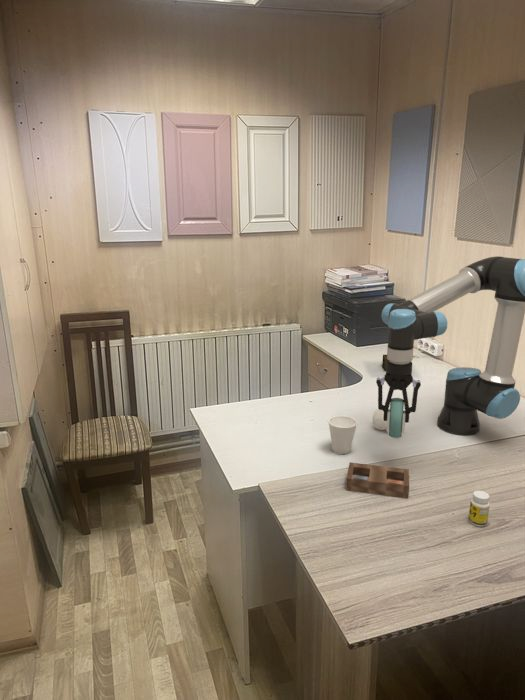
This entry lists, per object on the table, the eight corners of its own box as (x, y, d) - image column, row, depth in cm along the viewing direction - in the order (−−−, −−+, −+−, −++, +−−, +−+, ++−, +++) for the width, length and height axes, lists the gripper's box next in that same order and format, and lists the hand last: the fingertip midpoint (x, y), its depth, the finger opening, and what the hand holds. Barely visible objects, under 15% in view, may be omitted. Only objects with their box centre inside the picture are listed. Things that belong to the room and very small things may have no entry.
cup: (358, 446, 182) (359, 417, 178) (353, 459, 173) (354, 429, 169) (330, 442, 185) (331, 413, 182) (324, 454, 176) (325, 425, 173)
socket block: (407, 480, 159) (408, 468, 158) (408, 498, 150) (409, 485, 149) (349, 473, 164) (349, 461, 163) (345, 490, 154) (346, 477, 153)
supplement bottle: (465, 516, 142) (468, 489, 139) (481, 516, 142) (485, 489, 140) (473, 527, 137) (477, 499, 135) (490, 526, 137) (494, 499, 135)
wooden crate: (399, 372, 259) (400, 359, 257) (384, 372, 259) (385, 358, 257) (396, 368, 266) (397, 354, 264) (382, 368, 266) (382, 354, 264)
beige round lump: (392, 434, 191) (394, 415, 188) (371, 432, 192) (372, 413, 190) (391, 425, 198) (393, 406, 196) (371, 423, 200) (372, 405, 197)
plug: (401, 433, 165) (403, 398, 162) (401, 438, 162) (403, 403, 158) (388, 431, 166) (390, 397, 163) (388, 437, 163) (390, 402, 159)
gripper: (428, 358, 158) (422, 427, 165) (371, 355, 162) (368, 423, 169) (429, 366, 151) (423, 438, 158) (370, 362, 155) (367, 433, 162)
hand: (395, 430), depth 164 cm, fingers closed on plug, 4 cm apart
